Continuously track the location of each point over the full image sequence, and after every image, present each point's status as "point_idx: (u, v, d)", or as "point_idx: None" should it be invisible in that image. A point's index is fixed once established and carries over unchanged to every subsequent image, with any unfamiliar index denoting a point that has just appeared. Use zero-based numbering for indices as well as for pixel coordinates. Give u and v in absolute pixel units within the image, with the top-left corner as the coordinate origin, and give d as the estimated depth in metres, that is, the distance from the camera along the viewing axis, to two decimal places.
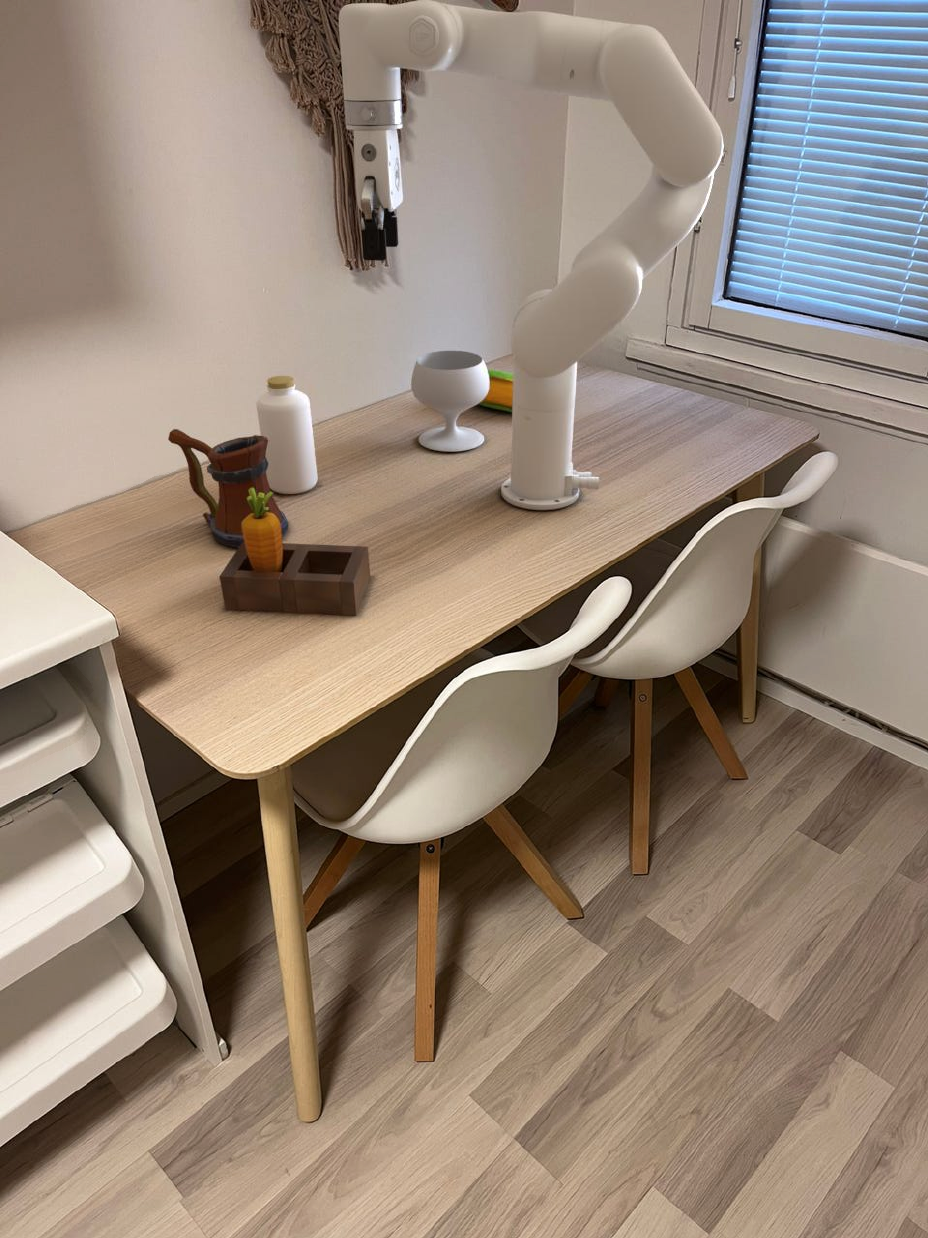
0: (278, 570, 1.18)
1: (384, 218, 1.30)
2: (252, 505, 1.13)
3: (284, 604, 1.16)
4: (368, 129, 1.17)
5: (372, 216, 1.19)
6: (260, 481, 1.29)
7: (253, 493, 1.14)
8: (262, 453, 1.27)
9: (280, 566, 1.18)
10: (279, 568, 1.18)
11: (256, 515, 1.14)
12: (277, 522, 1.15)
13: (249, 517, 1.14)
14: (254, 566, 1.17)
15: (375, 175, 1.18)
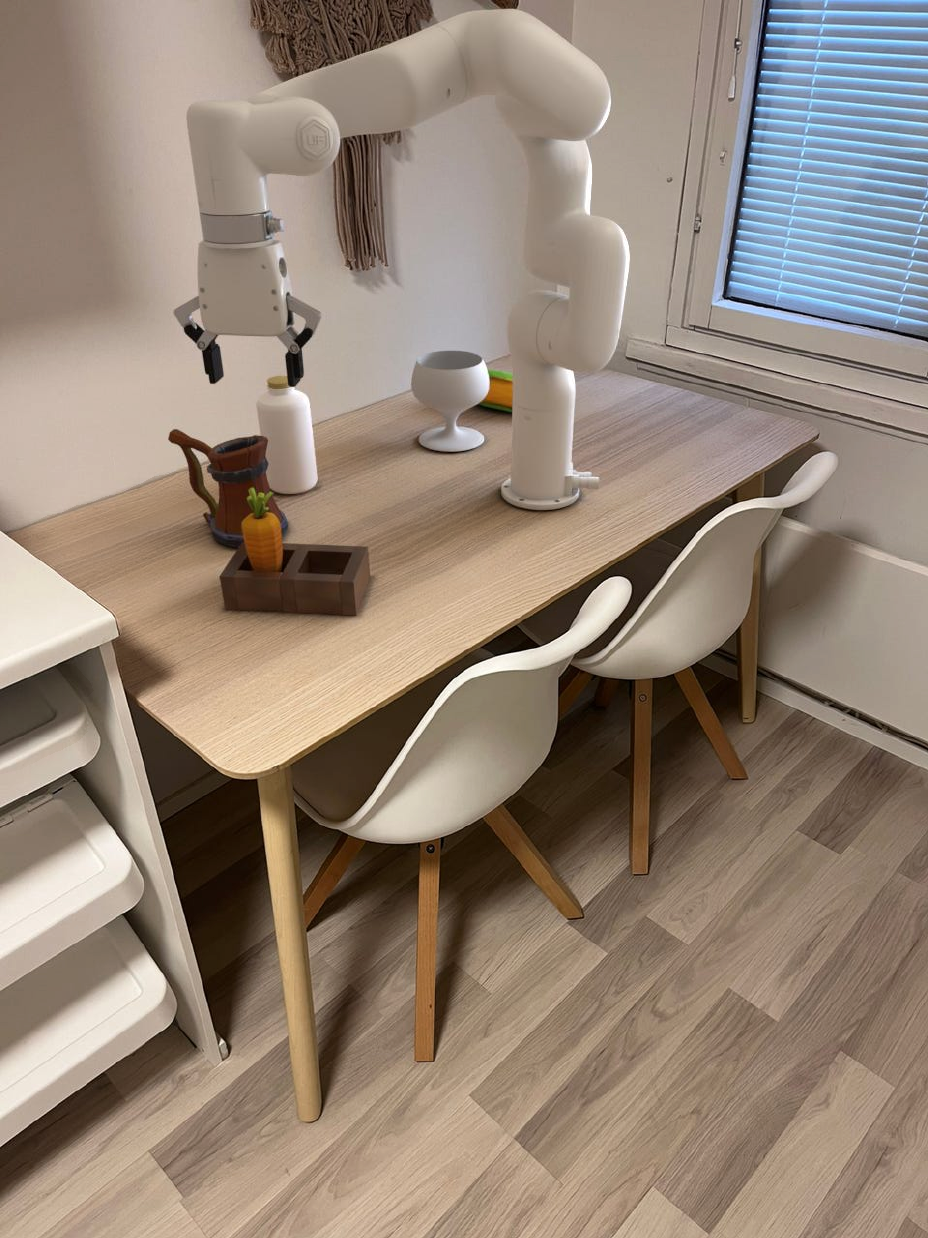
0: (278, 570, 1.18)
1: (214, 349, 1.07)
2: (252, 505, 1.13)
3: (284, 604, 1.16)
4: (271, 242, 1.00)
5: (314, 332, 1.05)
6: (260, 481, 1.29)
7: (253, 493, 1.14)
8: (262, 453, 1.27)
9: (280, 566, 1.18)
10: (279, 568, 1.18)
11: (256, 515, 1.14)
12: (277, 522, 1.15)
13: (249, 517, 1.14)
14: (254, 566, 1.17)
15: (289, 290, 1.03)
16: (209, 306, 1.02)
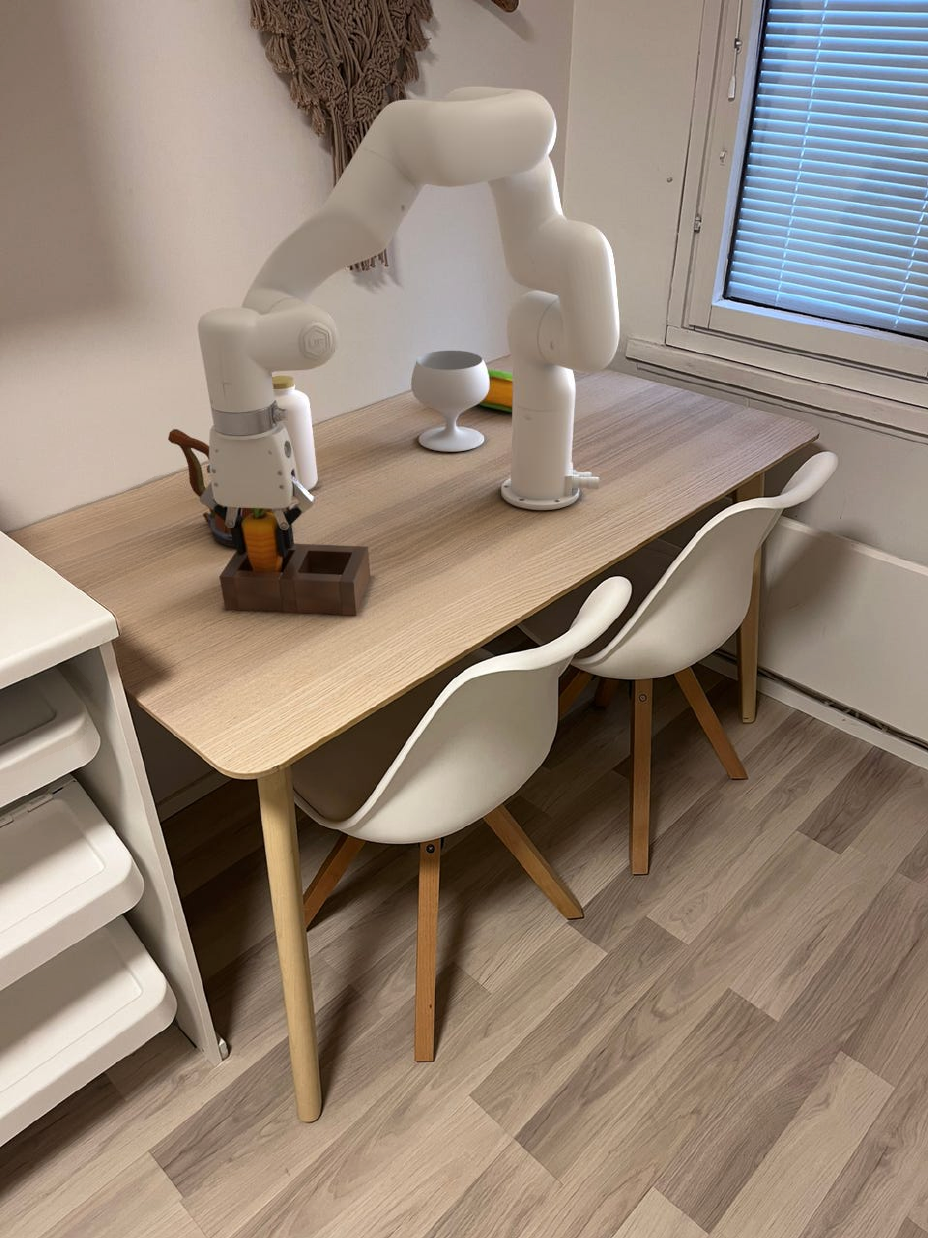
0: (278, 570, 1.18)
1: None
2: None
3: (284, 604, 1.16)
4: (277, 429, 1.08)
5: None
6: None
7: None
8: None
9: (280, 566, 1.18)
10: (279, 568, 1.18)
11: (256, 515, 1.14)
12: (277, 522, 1.15)
13: (249, 517, 1.14)
14: (254, 566, 1.17)
15: (294, 472, 1.12)
16: (220, 484, 1.10)
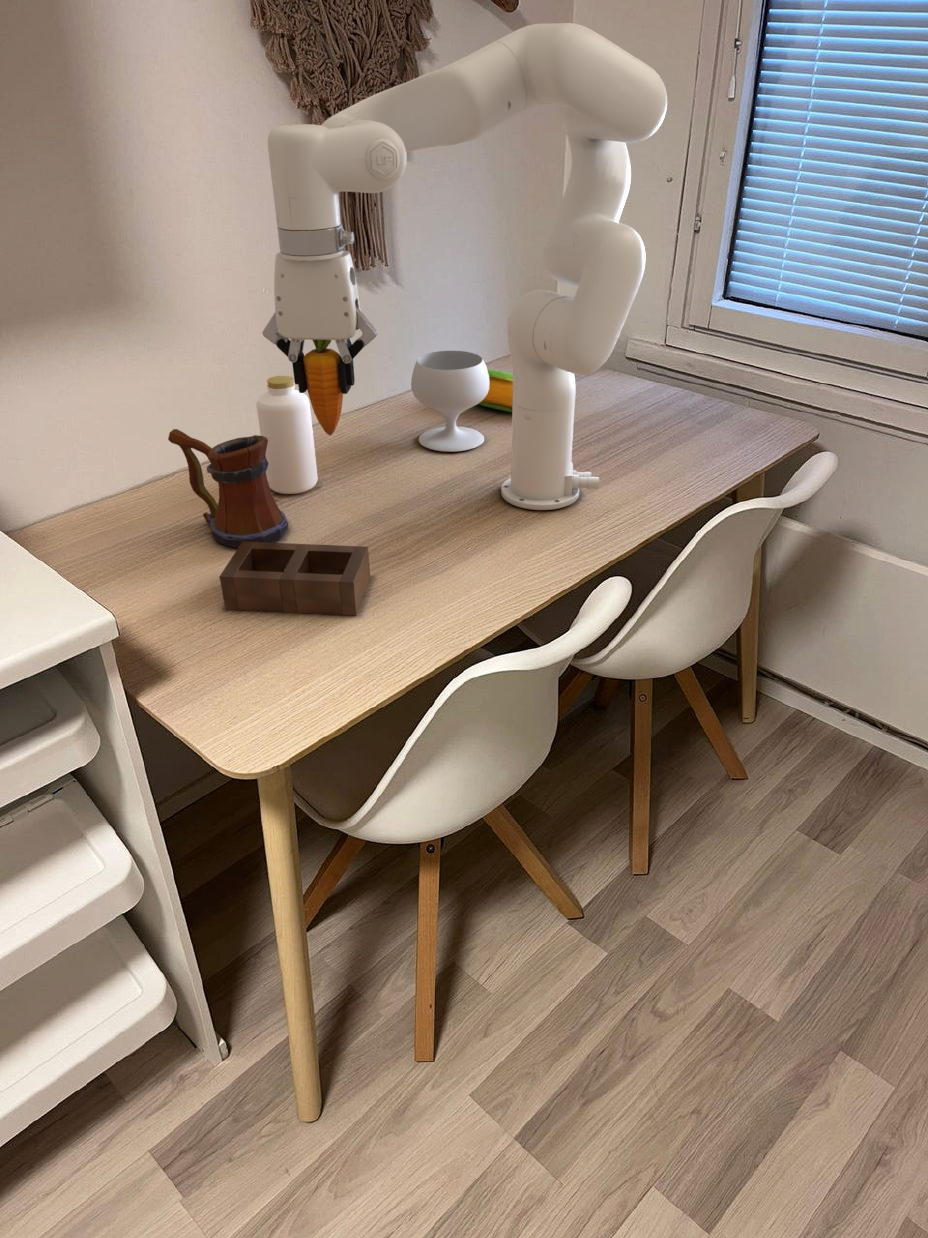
0: (338, 409, 1.19)
1: None
2: None
3: (284, 604, 1.16)
4: (342, 253, 1.08)
5: None
6: (260, 481, 1.29)
7: None
8: (262, 453, 1.27)
9: (340, 405, 1.19)
10: (339, 407, 1.19)
11: (318, 349, 1.14)
12: (339, 357, 1.15)
13: (312, 352, 1.15)
14: (315, 403, 1.17)
15: (357, 302, 1.12)
16: (285, 313, 1.11)
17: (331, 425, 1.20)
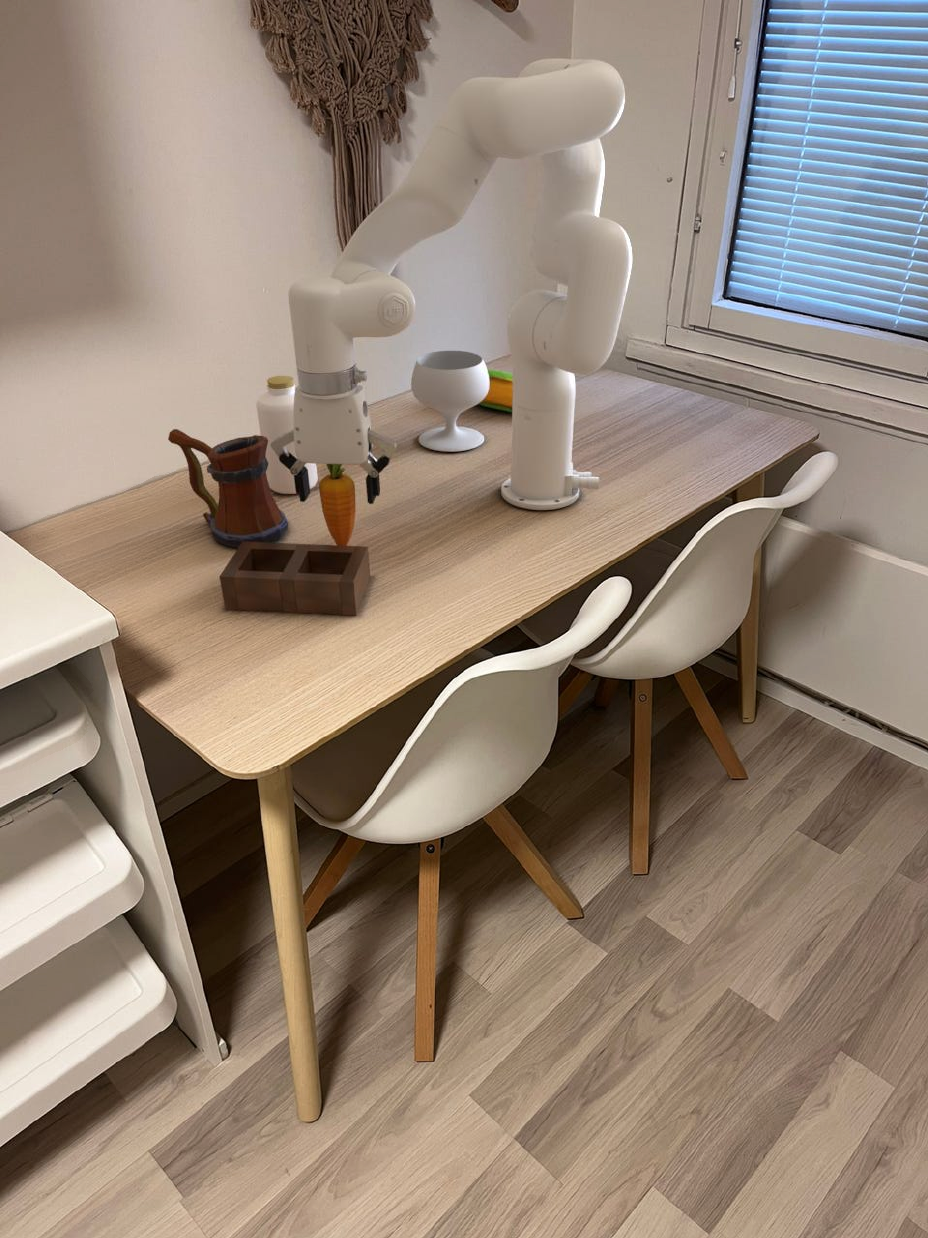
0: (351, 527, 1.28)
1: (304, 472, 1.25)
2: (330, 466, 1.24)
3: (284, 604, 1.16)
4: (356, 389, 1.18)
5: None
6: (260, 481, 1.29)
7: None
8: (262, 453, 1.27)
9: (352, 524, 1.29)
10: (352, 526, 1.29)
11: (333, 475, 1.24)
12: (352, 482, 1.25)
13: (327, 478, 1.25)
14: (329, 523, 1.27)
15: (369, 426, 1.21)
16: (302, 442, 1.20)
17: (344, 541, 1.29)
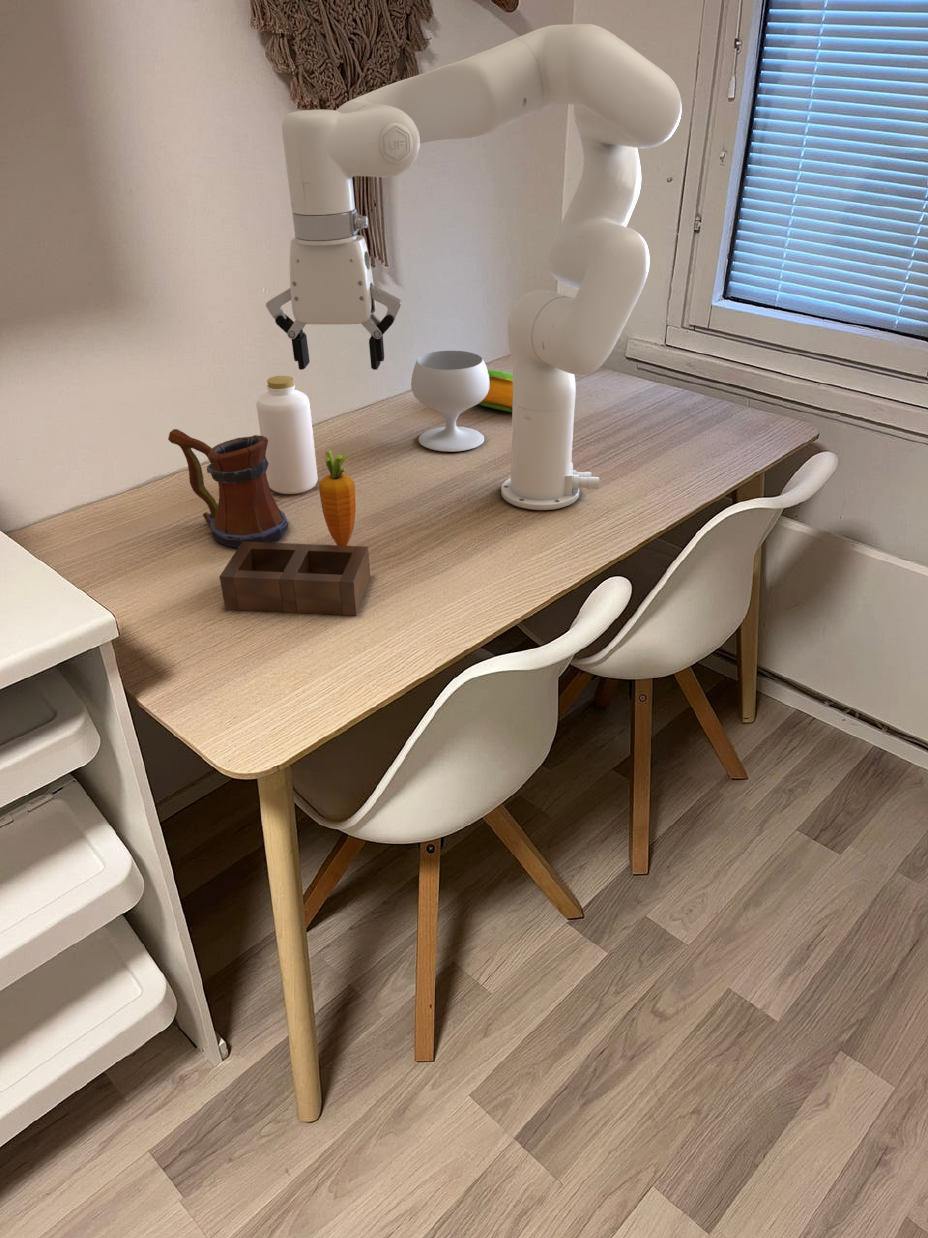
0: (351, 527, 1.28)
1: (302, 337, 1.17)
2: (330, 466, 1.24)
3: (284, 604, 1.16)
4: (357, 238, 1.09)
5: None
6: (260, 481, 1.29)
7: (330, 455, 1.25)
8: (262, 453, 1.27)
9: (353, 524, 1.29)
10: (352, 526, 1.29)
11: (333, 475, 1.24)
12: (352, 482, 1.25)
13: (327, 478, 1.25)
14: (330, 523, 1.27)
15: (372, 281, 1.13)
16: (300, 298, 1.12)
17: (344, 541, 1.29)
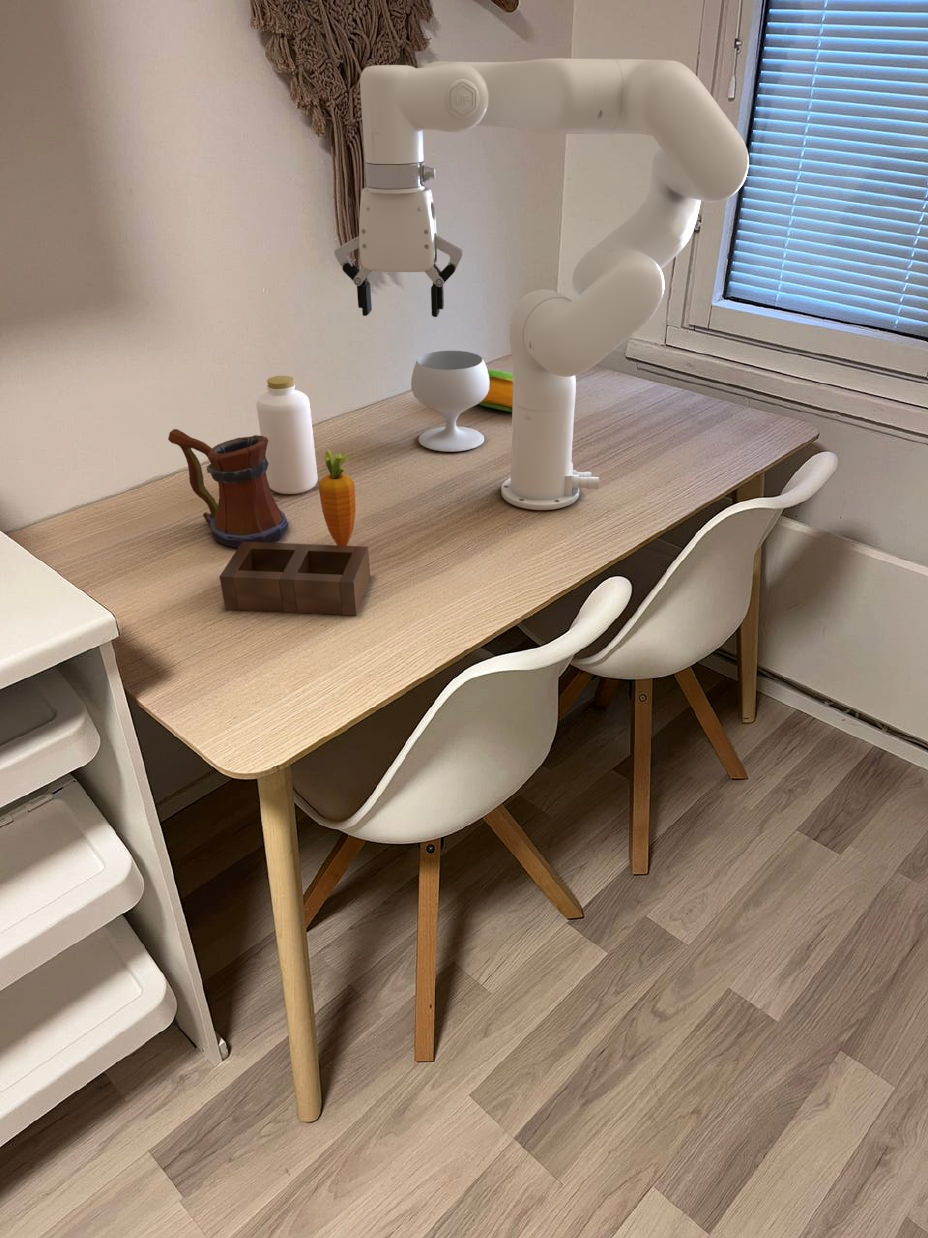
0: (351, 527, 1.28)
1: (367, 284, 1.23)
2: (329, 466, 1.24)
3: (284, 604, 1.16)
4: (424, 188, 1.16)
5: None
6: (260, 481, 1.29)
7: (330, 455, 1.25)
8: (262, 453, 1.27)
9: (352, 524, 1.29)
10: (352, 525, 1.29)
11: (333, 475, 1.24)
12: (351, 482, 1.25)
13: (326, 478, 1.25)
14: (329, 523, 1.27)
15: (436, 231, 1.19)
16: (368, 245, 1.18)
17: (344, 541, 1.29)
